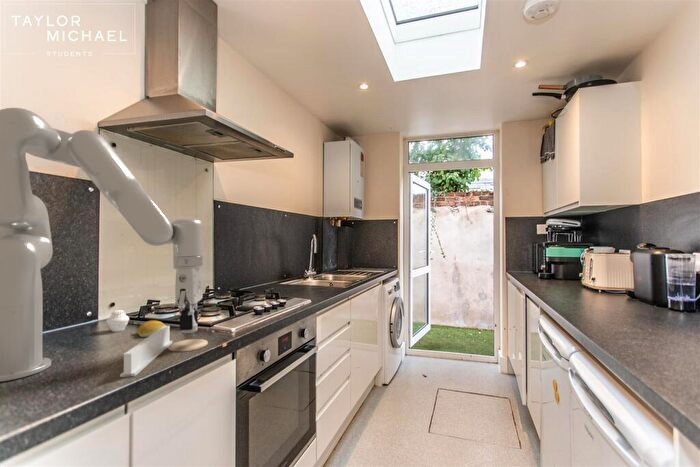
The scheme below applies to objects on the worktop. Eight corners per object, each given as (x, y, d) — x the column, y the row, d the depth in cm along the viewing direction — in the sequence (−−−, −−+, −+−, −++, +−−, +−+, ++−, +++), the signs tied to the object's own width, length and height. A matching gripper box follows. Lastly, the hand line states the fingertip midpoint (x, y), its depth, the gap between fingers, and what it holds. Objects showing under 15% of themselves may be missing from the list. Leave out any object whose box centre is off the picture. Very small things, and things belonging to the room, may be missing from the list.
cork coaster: (162, 353, 89) (162, 351, 89) (175, 341, 99) (175, 340, 99) (202, 350, 91) (202, 348, 91) (211, 339, 101) (211, 338, 101)
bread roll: (140, 339, 102) (140, 326, 102) (135, 333, 109) (135, 321, 109) (170, 334, 107) (170, 321, 107) (164, 328, 114) (164, 316, 114)
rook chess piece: (179, 330, 95) (179, 302, 95) (196, 328, 98) (195, 300, 98) (182, 334, 92) (181, 305, 92) (199, 331, 94) (199, 303, 94)
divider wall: (120, 377, 74) (120, 354, 74) (161, 343, 97) (161, 326, 97) (135, 376, 74) (135, 353, 74) (172, 342, 98) (172, 325, 98)
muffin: (129, 327, 116) (129, 306, 116) (129, 331, 110) (129, 310, 111) (107, 329, 112) (107, 309, 112) (105, 334, 107) (105, 312, 107)
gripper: (193, 264, 87) (194, 334, 87) (209, 260, 104) (209, 319, 104) (162, 265, 86) (163, 336, 86) (183, 261, 103) (184, 320, 102)
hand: (188, 326), depth 95 cm, fingers closed on rook chess piece, 4 cm apart
